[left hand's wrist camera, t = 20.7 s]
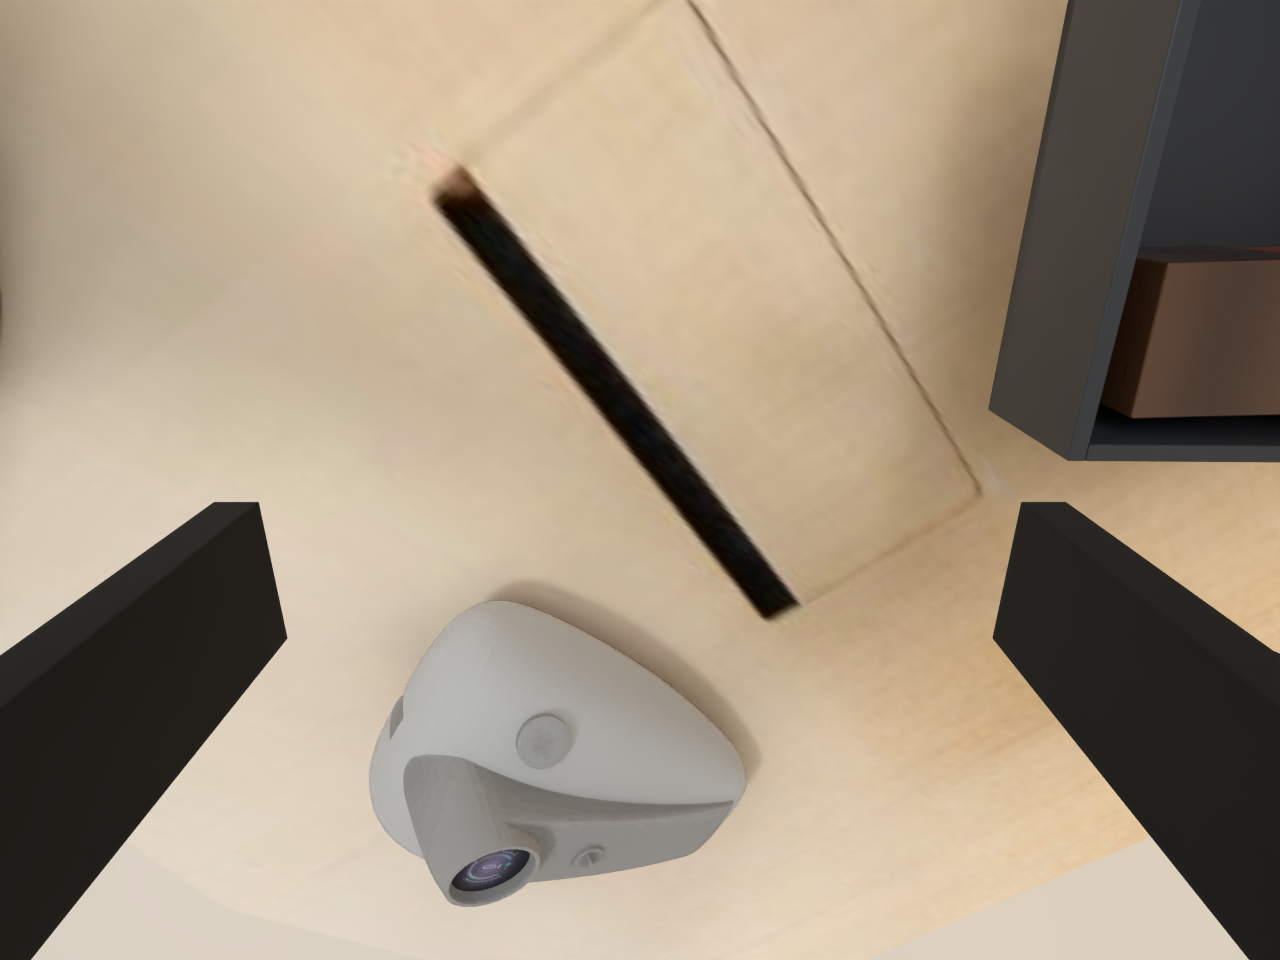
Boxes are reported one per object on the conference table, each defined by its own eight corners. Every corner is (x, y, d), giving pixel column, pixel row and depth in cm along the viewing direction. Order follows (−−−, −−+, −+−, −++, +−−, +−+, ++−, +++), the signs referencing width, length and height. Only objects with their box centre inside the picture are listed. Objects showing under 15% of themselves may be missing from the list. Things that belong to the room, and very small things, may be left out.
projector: (473, 868, 54) (416, 1093, 41) (337, 619, 46) (210, 795, 33) (758, 800, 52) (800, 1015, 38) (667, 525, 44) (679, 673, 30)
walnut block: (1051, 381, 28) (1130, 419, 24) (1076, 249, 27) (1168, 262, 22) (1179, 378, 28) (1284, 415, 24) (1213, 245, 26) (1335, 257, 22)
